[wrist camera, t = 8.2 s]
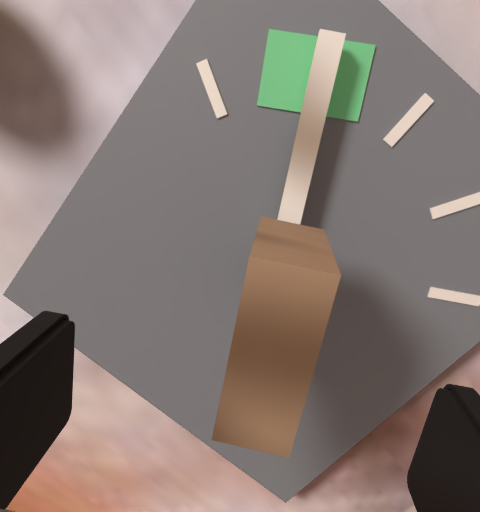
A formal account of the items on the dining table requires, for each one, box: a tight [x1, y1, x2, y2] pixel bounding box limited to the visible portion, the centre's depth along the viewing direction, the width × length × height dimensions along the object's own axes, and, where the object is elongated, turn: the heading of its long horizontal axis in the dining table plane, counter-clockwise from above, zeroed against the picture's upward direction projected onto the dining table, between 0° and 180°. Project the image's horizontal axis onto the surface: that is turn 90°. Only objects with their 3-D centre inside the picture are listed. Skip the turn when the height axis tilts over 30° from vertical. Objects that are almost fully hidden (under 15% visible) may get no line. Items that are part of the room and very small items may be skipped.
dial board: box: [3, 0, 480, 503], centre depth 21 cm, size 22×20×2 cm
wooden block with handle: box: [212, 29, 346, 458], centre depth 15 cm, size 13×2×9 cm, turn 169°
